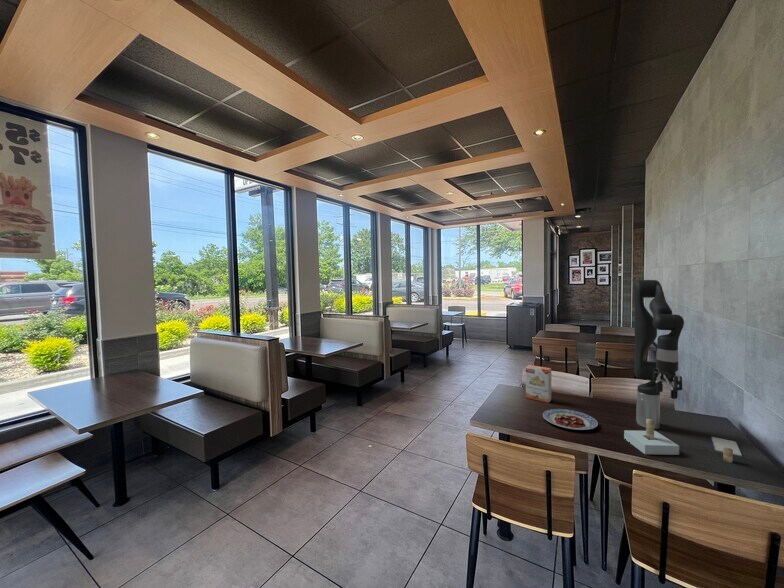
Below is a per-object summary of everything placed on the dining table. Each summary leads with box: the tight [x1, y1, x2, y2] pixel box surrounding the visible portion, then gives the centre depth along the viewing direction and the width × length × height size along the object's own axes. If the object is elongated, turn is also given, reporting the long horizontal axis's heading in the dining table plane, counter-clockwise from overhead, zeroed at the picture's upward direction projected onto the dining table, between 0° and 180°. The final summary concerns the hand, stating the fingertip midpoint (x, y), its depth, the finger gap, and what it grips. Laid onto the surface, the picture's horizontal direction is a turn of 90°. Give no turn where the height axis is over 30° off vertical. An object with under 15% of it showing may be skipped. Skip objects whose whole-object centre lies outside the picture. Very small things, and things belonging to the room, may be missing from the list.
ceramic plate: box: [542, 408, 599, 431], centre depth 174 cm, size 26×26×3 cm
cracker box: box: [525, 364, 552, 404], centre depth 207 cm, size 14×6×21 cm, turn 48°
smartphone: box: [711, 436, 743, 457], centre depth 146 cm, size 8×1×15 cm
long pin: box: [645, 419, 655, 440], centre depth 148 cm, size 3×3×12 cm
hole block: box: [623, 429, 680, 456], centre depth 148 cm, size 14×14×4 cm
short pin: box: [722, 447, 734, 464], centre depth 135 cm, size 3×3×5 cm
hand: (666, 395), depth 145 cm, fingers open, 8 cm apart
